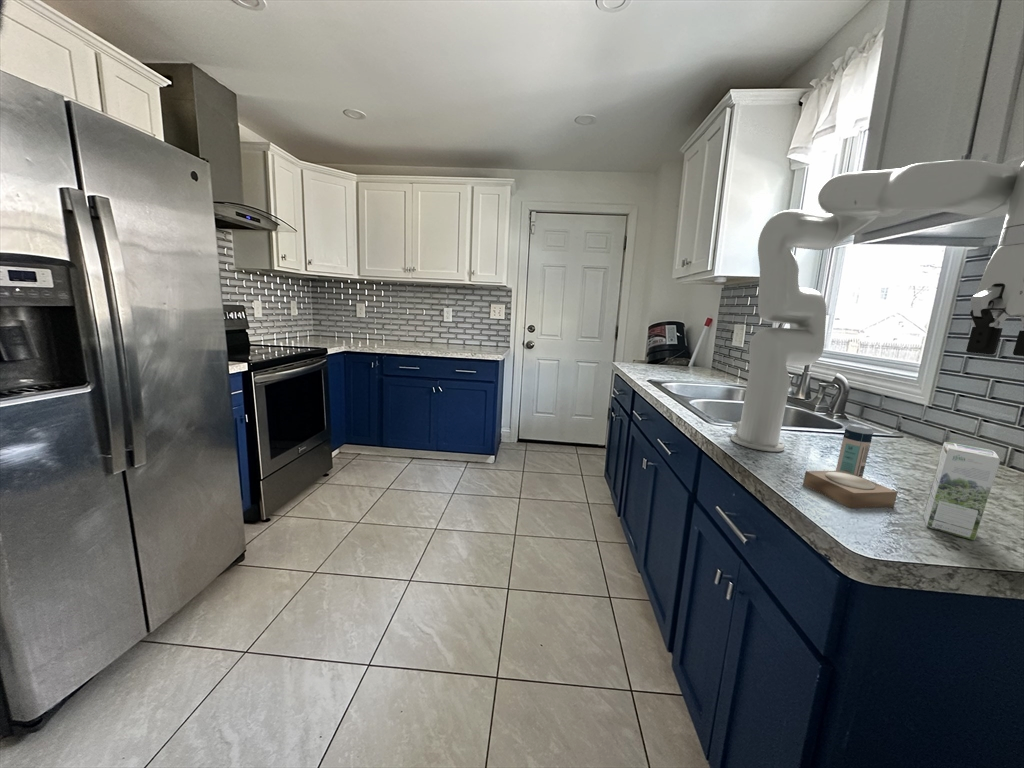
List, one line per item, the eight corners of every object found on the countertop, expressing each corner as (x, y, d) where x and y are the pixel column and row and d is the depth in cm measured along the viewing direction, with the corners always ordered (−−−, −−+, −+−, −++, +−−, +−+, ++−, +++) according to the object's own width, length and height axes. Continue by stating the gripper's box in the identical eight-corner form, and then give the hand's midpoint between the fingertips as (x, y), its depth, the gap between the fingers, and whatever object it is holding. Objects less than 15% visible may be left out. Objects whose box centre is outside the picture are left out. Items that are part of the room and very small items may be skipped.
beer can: (857, 476, 91) (869, 425, 88) (865, 484, 86) (878, 430, 84) (831, 471, 93) (843, 421, 90) (838, 479, 88) (850, 426, 86)
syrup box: (969, 529, 69) (993, 448, 67) (975, 542, 65) (1001, 457, 62) (922, 516, 73) (943, 439, 70) (925, 528, 68) (948, 446, 66)
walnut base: (802, 484, 84) (805, 469, 83) (842, 483, 86) (845, 469, 85) (850, 508, 74) (854, 491, 74) (893, 506, 76) (898, 490, 75)
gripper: (1043, 249, 65) (1012, 354, 68) (960, 238, 62) (931, 349, 65) (1119, 242, 58) (1080, 360, 61) (1030, 230, 55) (993, 355, 58)
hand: (1003, 355), depth 63 cm, fingers open, 9 cm apart
